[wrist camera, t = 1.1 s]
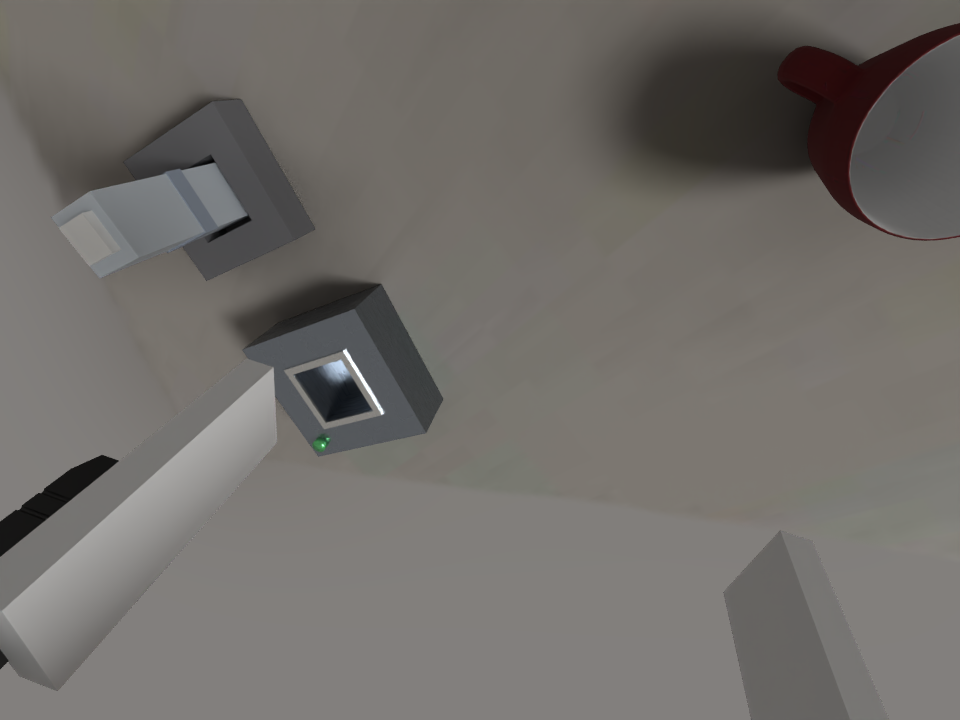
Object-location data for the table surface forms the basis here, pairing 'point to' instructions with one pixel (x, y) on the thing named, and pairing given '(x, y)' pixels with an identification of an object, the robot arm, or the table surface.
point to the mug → (887, 132)
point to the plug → (148, 217)
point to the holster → (249, 171)
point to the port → (349, 374)
